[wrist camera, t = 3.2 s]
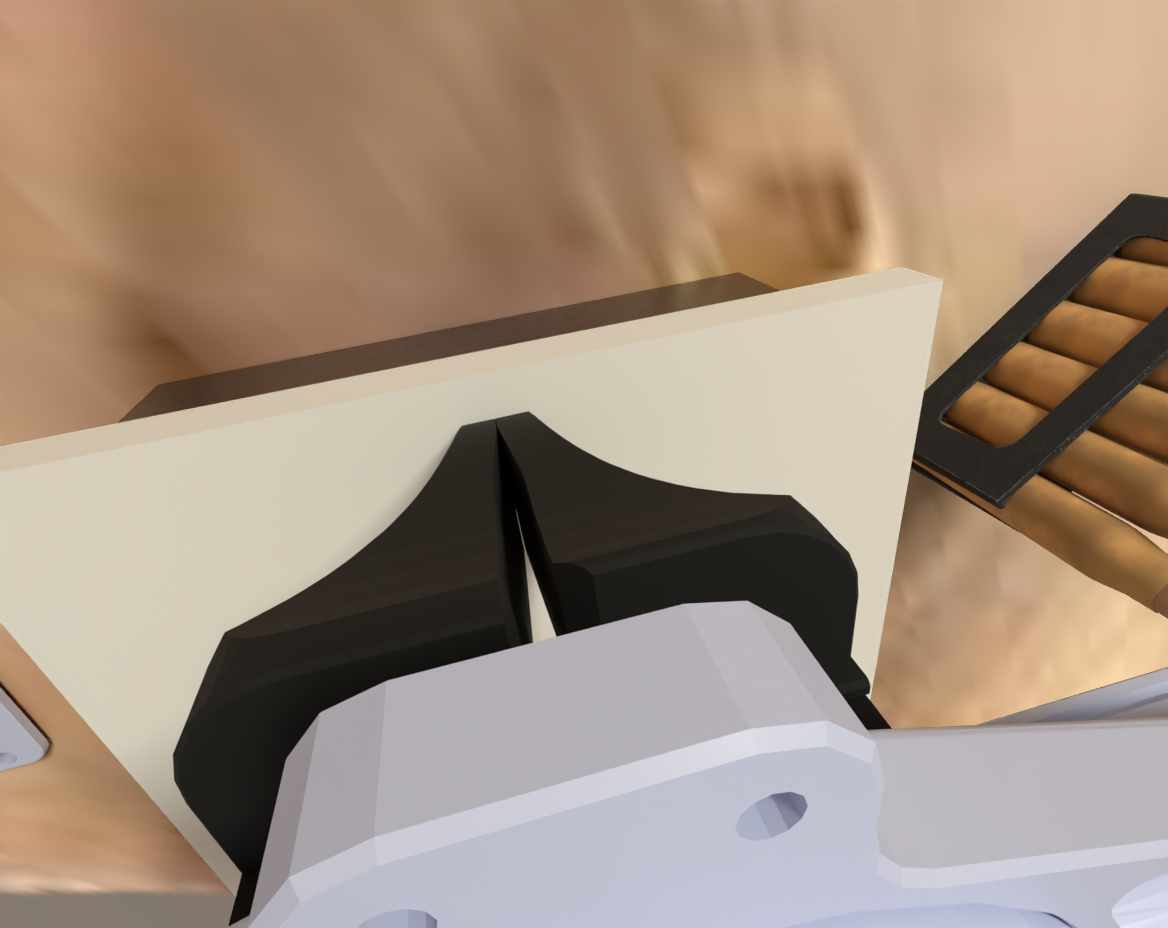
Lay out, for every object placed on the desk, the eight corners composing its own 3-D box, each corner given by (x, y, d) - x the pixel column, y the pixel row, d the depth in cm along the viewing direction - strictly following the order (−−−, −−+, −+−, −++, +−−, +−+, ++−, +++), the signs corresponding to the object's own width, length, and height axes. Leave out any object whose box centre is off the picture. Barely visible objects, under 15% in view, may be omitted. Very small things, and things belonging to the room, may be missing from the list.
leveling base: (337, 733, 23) (317, 870, 18) (157, 385, 16) (60, 476, 12) (740, 623, 25) (805, 723, 21) (739, 272, 18) (835, 315, 14)
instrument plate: (292, 909, 19) (252, 1156, 14) (-57, 458, 10) (-415, 710, 6) (835, 742, 21) (946, 910, 16) (901, 266, 13) (1157, 345, 8)
